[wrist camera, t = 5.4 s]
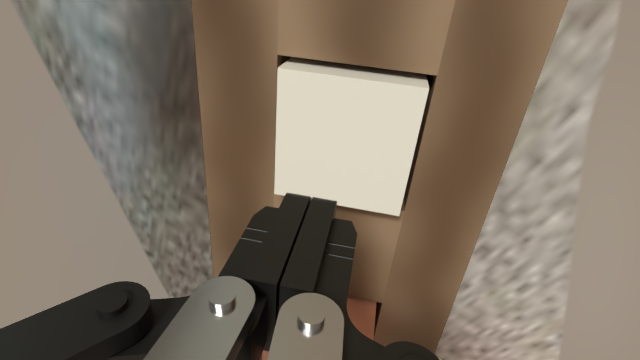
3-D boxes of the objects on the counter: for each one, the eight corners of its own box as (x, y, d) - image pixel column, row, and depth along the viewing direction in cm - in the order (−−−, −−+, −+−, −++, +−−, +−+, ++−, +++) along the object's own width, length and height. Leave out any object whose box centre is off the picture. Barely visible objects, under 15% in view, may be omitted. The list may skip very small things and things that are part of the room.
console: (251, 307, 34) (221, 374, 28) (247, -60, 20) (185, -73, 14) (407, 341, 32) (408, 420, 26) (525, -35, 18) (582, -38, 12)
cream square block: (294, 158, 21) (274, 194, 18) (300, 50, 18) (277, 68, 15) (399, 175, 21) (399, 216, 17) (423, 65, 18) (429, 88, 14)
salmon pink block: (280, 329, 26) (262, 383, 23) (283, 267, 24) (262, 317, 20) (363, 348, 26) (357, 406, 22) (377, 286, 23) (373, 342, 19)
